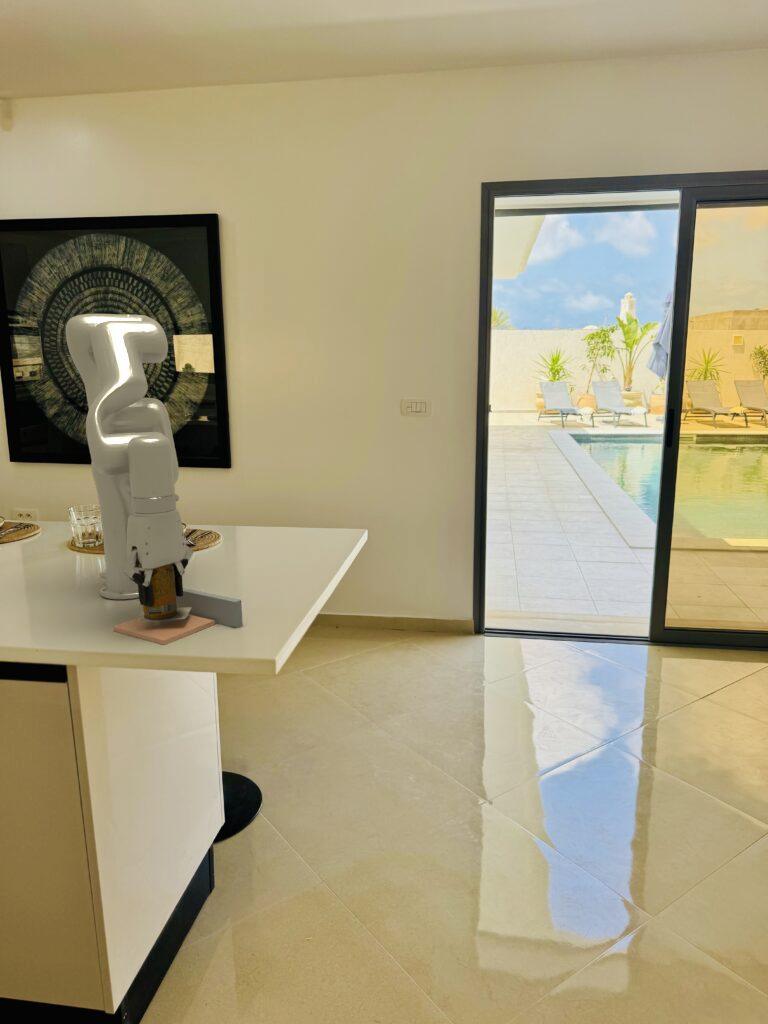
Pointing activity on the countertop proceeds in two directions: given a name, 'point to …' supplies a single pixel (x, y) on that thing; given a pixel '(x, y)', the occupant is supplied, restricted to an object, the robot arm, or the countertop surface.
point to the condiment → (163, 597)
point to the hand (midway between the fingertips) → (161, 599)
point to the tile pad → (164, 628)
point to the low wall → (212, 607)
